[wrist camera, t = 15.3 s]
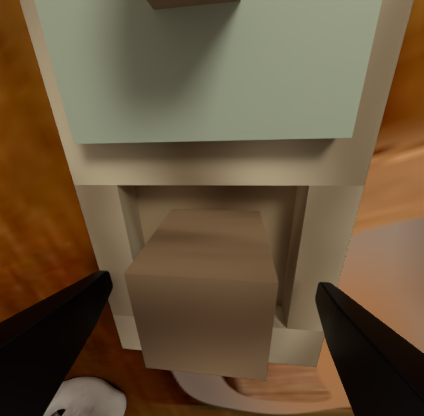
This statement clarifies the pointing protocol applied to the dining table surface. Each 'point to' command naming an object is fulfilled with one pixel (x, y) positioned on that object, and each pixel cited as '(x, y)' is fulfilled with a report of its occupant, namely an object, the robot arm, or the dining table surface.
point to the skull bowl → (87, 398)
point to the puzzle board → (236, 193)
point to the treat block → (205, 294)
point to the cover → (209, 67)
